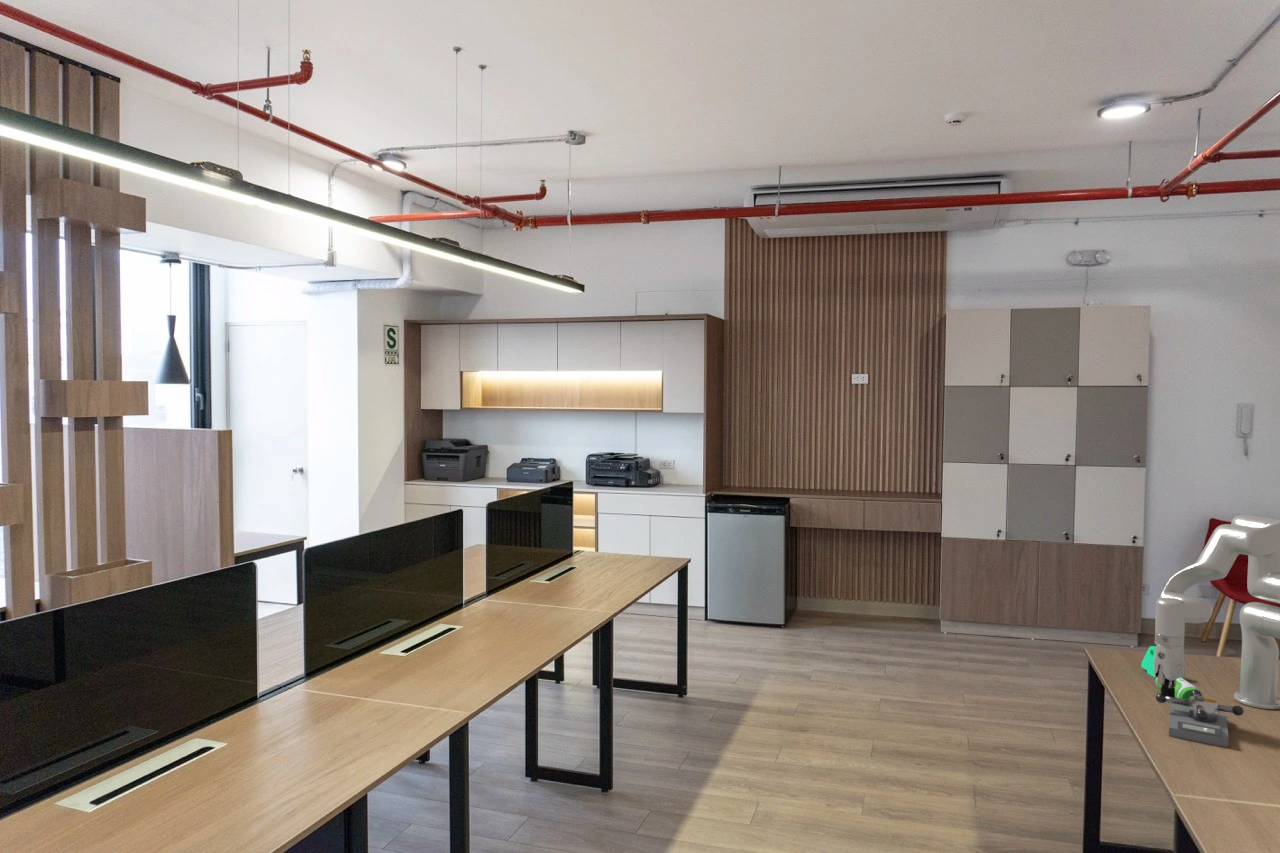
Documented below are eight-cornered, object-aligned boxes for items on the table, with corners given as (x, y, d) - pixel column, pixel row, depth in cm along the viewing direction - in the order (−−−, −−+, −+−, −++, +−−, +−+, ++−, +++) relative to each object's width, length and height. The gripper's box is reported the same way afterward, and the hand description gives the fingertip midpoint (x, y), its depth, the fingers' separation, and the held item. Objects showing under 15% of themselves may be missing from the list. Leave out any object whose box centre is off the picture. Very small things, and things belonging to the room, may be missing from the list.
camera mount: (1183, 682, 292) (1185, 652, 291) (1161, 681, 292) (1162, 651, 291) (1163, 670, 304) (1164, 641, 303) (1141, 670, 304) (1142, 641, 303)
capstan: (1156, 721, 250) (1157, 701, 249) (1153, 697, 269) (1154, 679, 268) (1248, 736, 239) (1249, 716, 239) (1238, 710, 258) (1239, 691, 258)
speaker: (1205, 712, 265) (1206, 688, 264) (1179, 711, 265) (1180, 687, 265) (1176, 692, 282) (1177, 669, 282) (1153, 690, 283) (1154, 668, 282)
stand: (1170, 711, 265) (1171, 696, 264) (1225, 721, 257) (1226, 706, 257) (1168, 736, 246) (1169, 720, 245) (1228, 748, 238) (1229, 731, 238)
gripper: (1171, 647, 251) (1169, 709, 252) (1194, 638, 260) (1192, 698, 261) (1144, 641, 257) (1142, 701, 259) (1167, 632, 266) (1166, 690, 267)
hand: (1167, 699), depth 260 cm, fingers closed
